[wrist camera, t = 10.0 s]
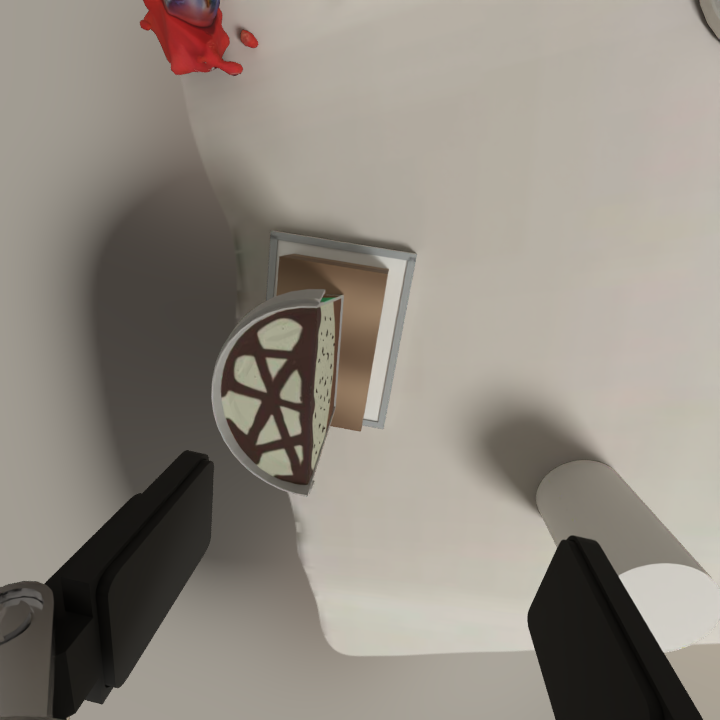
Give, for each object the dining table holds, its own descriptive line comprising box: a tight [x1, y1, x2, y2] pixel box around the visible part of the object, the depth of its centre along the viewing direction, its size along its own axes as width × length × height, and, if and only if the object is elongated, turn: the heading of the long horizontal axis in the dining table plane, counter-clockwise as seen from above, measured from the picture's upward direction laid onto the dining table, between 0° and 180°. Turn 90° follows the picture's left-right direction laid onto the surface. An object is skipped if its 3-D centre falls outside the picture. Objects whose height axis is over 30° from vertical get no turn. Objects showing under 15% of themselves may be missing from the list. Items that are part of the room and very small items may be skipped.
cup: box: [536, 460, 720, 653], centre depth 32 cm, size 8×8×12 cm
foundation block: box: [276, 254, 389, 431], centre depth 32 cm, size 13×8×4 cm, turn 171°
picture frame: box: [266, 231, 417, 429], centre depth 34 cm, size 16×12×1 cm
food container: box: [212, 289, 344, 497], centre depth 26 cm, size 12×6×10 cm, turn 175°
